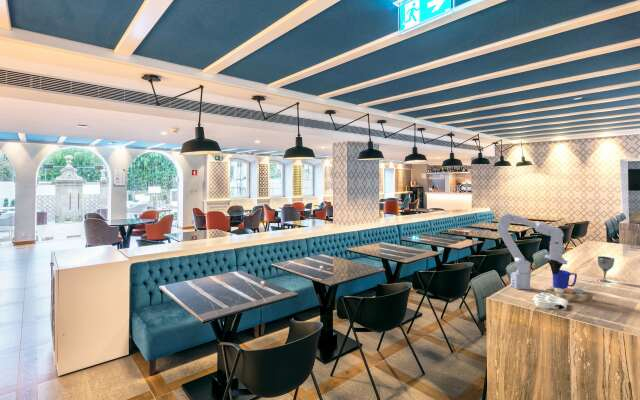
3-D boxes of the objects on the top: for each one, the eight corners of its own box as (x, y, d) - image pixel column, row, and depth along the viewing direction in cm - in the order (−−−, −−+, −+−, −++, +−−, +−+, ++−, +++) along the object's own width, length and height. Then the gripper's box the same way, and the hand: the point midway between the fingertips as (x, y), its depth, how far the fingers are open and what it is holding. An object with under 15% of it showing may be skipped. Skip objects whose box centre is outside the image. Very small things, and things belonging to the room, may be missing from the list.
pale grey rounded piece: (557, 295, 172) (558, 289, 171) (552, 293, 176) (552, 287, 175) (565, 296, 172) (565, 290, 171) (559, 293, 176) (560, 287, 175)
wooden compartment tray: (559, 300, 169) (559, 294, 169) (545, 294, 179) (546, 288, 179) (592, 301, 169) (592, 295, 168) (576, 294, 179) (577, 289, 178)
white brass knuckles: (564, 313, 152) (528, 305, 162) (568, 304, 166) (534, 296, 175) (565, 306, 152) (528, 298, 162) (569, 297, 165) (534, 290, 175)
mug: (579, 291, 184) (580, 274, 184) (555, 289, 187) (556, 272, 186) (571, 287, 192) (572, 270, 192) (548, 285, 195) (549, 268, 194)
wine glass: (599, 281, 205) (600, 258, 205) (594, 278, 213) (595, 255, 212) (615, 283, 202) (616, 259, 202) (609, 280, 210) (611, 257, 209)
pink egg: (567, 296, 172) (567, 290, 171) (561, 293, 176) (562, 287, 175) (575, 296, 172) (575, 290, 171) (569, 293, 176) (569, 287, 175)
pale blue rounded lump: (577, 296, 172) (577, 290, 171) (571, 293, 176) (572, 288, 175) (585, 296, 172) (585, 290, 171) (579, 294, 176) (579, 288, 175)
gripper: (573, 252, 173) (572, 277, 174) (553, 247, 188) (553, 270, 188) (560, 252, 173) (559, 277, 174) (541, 247, 188) (540, 270, 188)
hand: (555, 274), depth 181 cm, fingers closed
